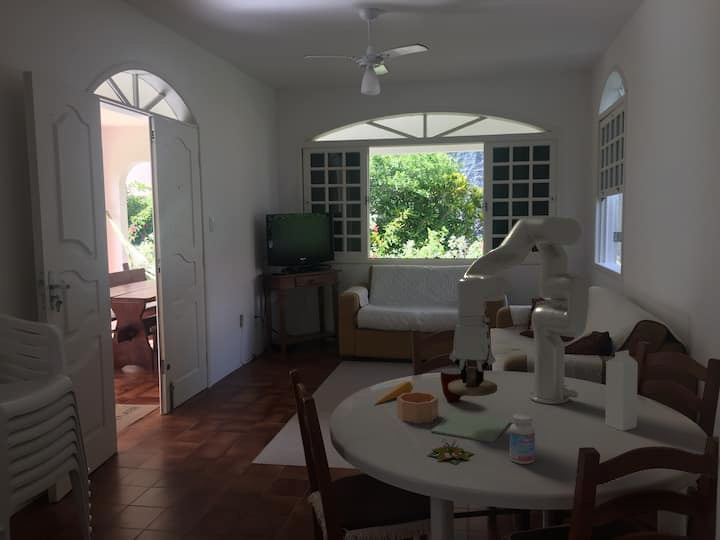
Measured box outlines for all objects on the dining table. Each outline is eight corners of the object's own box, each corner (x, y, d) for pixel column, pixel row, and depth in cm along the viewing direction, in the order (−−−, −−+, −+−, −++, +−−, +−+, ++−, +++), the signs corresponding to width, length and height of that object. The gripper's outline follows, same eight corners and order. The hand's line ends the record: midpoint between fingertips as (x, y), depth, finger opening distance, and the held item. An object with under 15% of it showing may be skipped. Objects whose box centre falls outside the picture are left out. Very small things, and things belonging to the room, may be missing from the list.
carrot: (407, 393, 212) (402, 381, 213) (416, 390, 209) (411, 378, 210) (371, 413, 198) (366, 400, 198) (380, 410, 195) (375, 397, 195)
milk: (636, 427, 171) (638, 352, 169) (622, 431, 168) (624, 354, 167) (618, 421, 177) (620, 348, 175) (604, 425, 174) (606, 350, 172)
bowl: (442, 413, 187) (442, 395, 186) (427, 425, 176) (427, 405, 176) (408, 408, 192) (408, 390, 192) (392, 419, 182) (392, 400, 182)
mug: (476, 402, 198) (475, 372, 197) (459, 407, 193) (459, 377, 192) (451, 395, 206) (451, 367, 205) (435, 400, 201) (435, 371, 200)
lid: (503, 385, 176) (502, 365, 175) (488, 398, 164) (488, 377, 163) (457, 380, 183) (457, 360, 182) (440, 392, 170) (440, 372, 170)
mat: (510, 422, 177) (510, 420, 177) (492, 442, 162) (492, 440, 162) (453, 414, 186) (453, 412, 186) (430, 432, 170) (430, 430, 170)
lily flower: (483, 456, 154) (483, 438, 154) (457, 470, 145) (457, 452, 145) (444, 444, 162) (444, 428, 162) (417, 458, 153) (417, 440, 153)
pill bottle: (521, 466, 146) (521, 421, 145) (504, 458, 151) (504, 414, 150) (540, 461, 148) (540, 417, 148) (522, 453, 154) (522, 410, 153)
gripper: (503, 320, 171) (504, 382, 172) (448, 316, 179) (450, 376, 180) (495, 324, 164) (496, 389, 166) (439, 321, 172) (440, 383, 174)
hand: (472, 382), depth 173 cm, fingers closed on lid, 3 cm apart
